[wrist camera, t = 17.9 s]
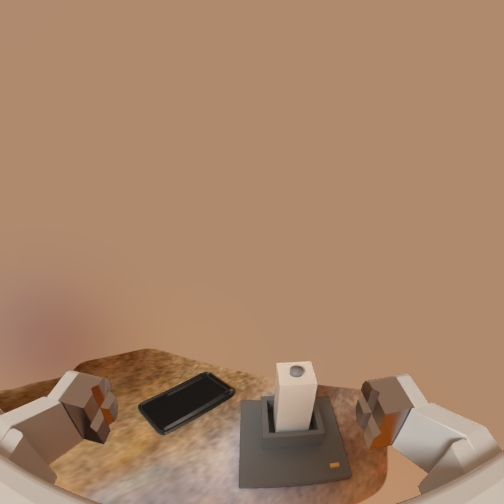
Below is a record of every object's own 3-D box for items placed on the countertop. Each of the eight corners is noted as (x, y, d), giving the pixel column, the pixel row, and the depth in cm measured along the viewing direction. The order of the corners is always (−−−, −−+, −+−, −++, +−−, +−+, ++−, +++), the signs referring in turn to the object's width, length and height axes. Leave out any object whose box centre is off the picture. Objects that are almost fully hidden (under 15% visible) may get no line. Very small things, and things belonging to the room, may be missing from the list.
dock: (239, 488, 25) (237, 475, 24) (241, 404, 40) (240, 387, 39) (350, 478, 25) (358, 463, 24) (327, 400, 40) (330, 383, 39)
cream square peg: (275, 439, 32) (279, 382, 29) (273, 417, 36) (276, 359, 33) (306, 437, 32) (318, 379, 29) (302, 415, 36) (311, 357, 33)
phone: (235, 391, 43) (160, 434, 32) (236, 395, 43) (161, 438, 33) (206, 370, 48) (135, 404, 38) (206, 374, 48) (137, 408, 38)
